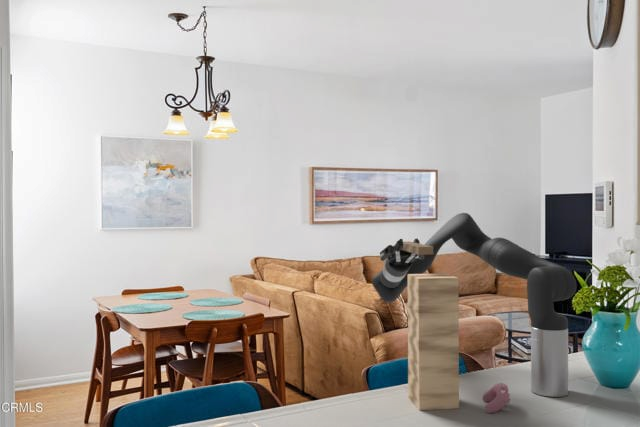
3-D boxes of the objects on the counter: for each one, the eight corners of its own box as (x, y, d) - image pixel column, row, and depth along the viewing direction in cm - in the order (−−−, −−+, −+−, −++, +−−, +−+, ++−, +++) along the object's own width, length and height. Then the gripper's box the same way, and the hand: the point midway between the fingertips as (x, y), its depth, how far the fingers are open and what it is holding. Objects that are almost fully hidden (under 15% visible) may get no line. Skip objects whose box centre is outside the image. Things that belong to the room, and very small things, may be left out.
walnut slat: (397, 248, 179) (396, 241, 179) (410, 248, 180) (410, 241, 180) (418, 254, 157) (418, 247, 157) (433, 254, 158) (433, 246, 158)
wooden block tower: (407, 397, 157) (407, 274, 157) (445, 395, 159) (445, 273, 158) (419, 410, 147) (418, 278, 147) (459, 408, 149) (458, 277, 148)
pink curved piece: (501, 421, 144) (515, 395, 143) (483, 411, 145) (497, 386, 144) (497, 407, 154) (509, 383, 153) (480, 398, 155) (493, 374, 154)
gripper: (372, 255, 189) (383, 230, 174) (417, 254, 191) (431, 229, 176) (375, 278, 185) (386, 253, 170) (420, 276, 187) (435, 252, 172)
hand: (409, 241), depth 173 cm, fingers closed on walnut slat, 4 cm apart
